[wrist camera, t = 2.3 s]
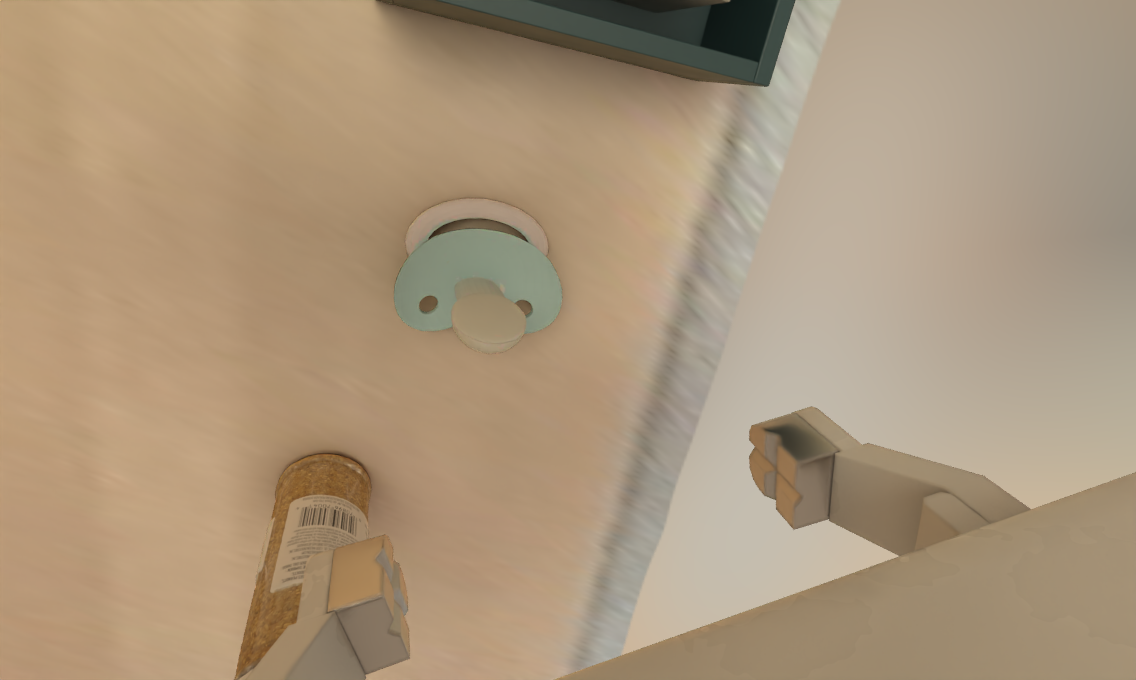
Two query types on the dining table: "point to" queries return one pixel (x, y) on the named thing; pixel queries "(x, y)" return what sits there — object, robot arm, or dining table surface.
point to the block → (668, 4)
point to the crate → (642, 32)
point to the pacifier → (478, 276)
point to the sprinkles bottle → (302, 542)
